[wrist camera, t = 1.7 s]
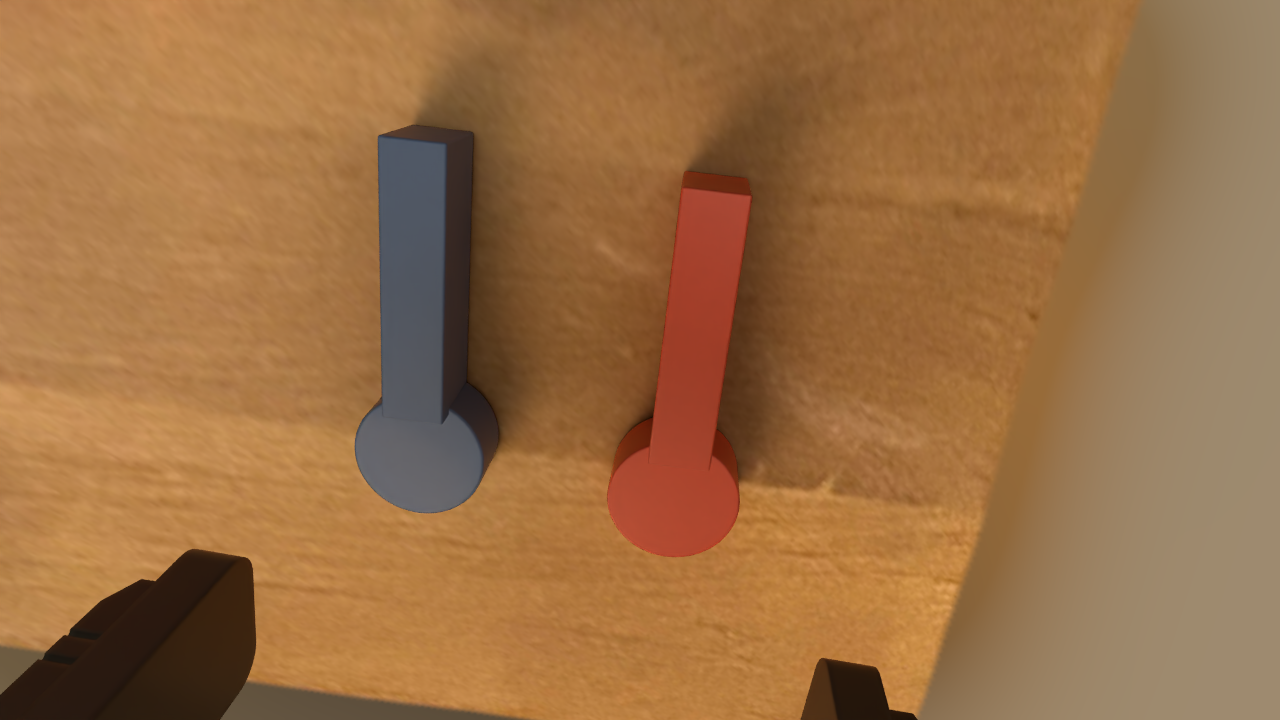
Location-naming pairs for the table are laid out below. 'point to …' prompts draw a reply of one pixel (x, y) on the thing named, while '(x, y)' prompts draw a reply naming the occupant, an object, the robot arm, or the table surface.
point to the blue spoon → (425, 329)
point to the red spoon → (689, 386)
